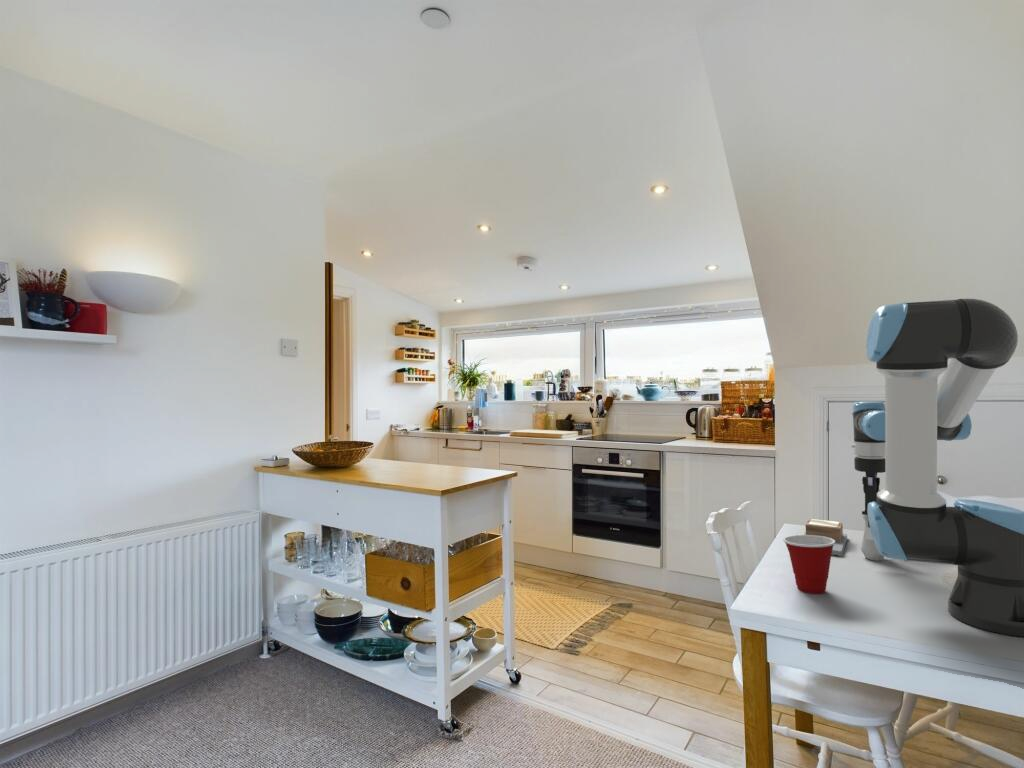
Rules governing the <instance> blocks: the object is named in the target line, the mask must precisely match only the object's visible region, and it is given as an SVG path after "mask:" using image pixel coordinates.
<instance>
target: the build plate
mask: <svg viewBox="0 0 1024 768" xmlns="http://www.w3.org/2000/svg"><path fill="white" fill-rule="evenodd" d="M803 535H806V531H805V533H803ZM847 541H848V534H847V533H844V532H843V536H842V539H841V542H836V541H835V544H834V545H833V549H832V555H831V556H833V555H838V556H837V557H840V556H842V555H843V553H844V551H845V546H846V545H847ZM842 557H843V556H842Z"/></svg>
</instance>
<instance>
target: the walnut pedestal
mask: <svg viewBox="0 0 1024 768" xmlns="http://www.w3.org/2000/svg"><path fill="white" fill-rule="evenodd" d="M843 529H844V528H843V521H833V520H827V519H826V520H825V519H815V518H809V519H808V521H807V522H806V523H805V532H806V535H816V536H824V537H828V538H832V539H834V540H835V541H836V542H841V539H842V536H843V533H844V532H843V531H844V530H843Z"/></svg>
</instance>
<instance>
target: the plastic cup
mask: <svg viewBox="0 0 1024 768" xmlns="http://www.w3.org/2000/svg"><path fill="white" fill-rule="evenodd" d="M782 541H783V542H784V543H785V545H786V548H787V551H788V554H789V558H790V562H791V567H792V572H793V574H794V579H795V585H796V587H797V590H799V591H801V592H803V591H804V593H808V594H813V595H815V594H816V595H821V594H824V593H826V590H827V585H828V584H827V583H828V578H829V574H830V565H831V559H832V558H831V557H832V556H833V555H832V549H833V545H834V544H835V540H834V539H832V538H828V537H824V536H816V535H804V534H795V535H788V536H785V537H783V538H782Z"/></svg>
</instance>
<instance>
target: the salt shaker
mask: <svg viewBox="0 0 1024 768" xmlns="http://www.w3.org/2000/svg"><path fill="white" fill-rule="evenodd" d="M862 519H863V520H865V515H862ZM860 545H861V546H860V550H861V552H862V554H863V556H864V557H865V559H866V558H867V559H866V560H869V559H870V560H869V561H874V560H875V561H876V562H882V561H884V559H885V557H884V556H882V555H881V554H880V553H879V551H878V550H877V548H876V546H875V543H874V540H871V539H866V531H865V529H864V531H863V535H862V541H861V544H860Z"/></svg>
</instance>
